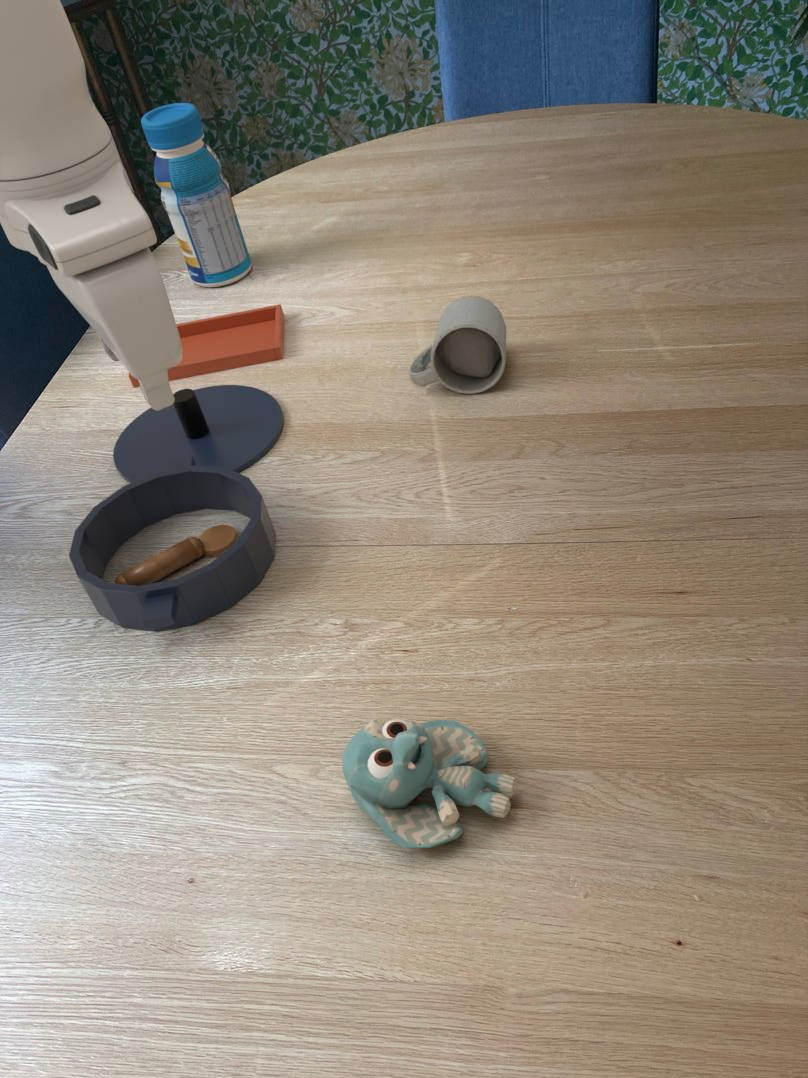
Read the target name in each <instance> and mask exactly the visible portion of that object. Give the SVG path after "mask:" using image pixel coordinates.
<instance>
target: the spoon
mask: <svg viewBox="0 0 808 1078" xmlns="http://www.w3.org/2000/svg"><path fill="white" fill-rule="evenodd" d="M238 538H239V536H238V533H237V531H236V529H235V528H234V527H233V526H230V525H228V524H219V525H218V524H217V525H215V526H211V527H209V528H207V529H205V530H204V531H203V532H202V533H201V534H200V535H199V536H198V537H197V536H190V537H187V538H185V539H183V540H181V541H180V542H178V543H176V544H174V545H172V546H170V547H168V548H167V549H164V550H163V551H160V552H159V553H157V554H155V555H154V556H152V557H150V558H148V559H146V560H144V561H142V562H140V563H139V564H136V565H135V566H133V567H130V568H129V569H127V570H125V571H124V572H122V573H119V574H118V575H117V576H116V577H115V579H114V583H116V584H126V585H136V586H141V585H147V584H152V583H157V582H159V580H162V579H163V578H165V577H167V576H168V575H171V574H172V573H174V572H176V571H178V570H180V569H181V568H183V567H185V566H187V565H188V564H191V563H192V562H194V561H196V560H198V559H199V558H201V557H202V556H206V557H211V558H217V557H219V556H220V555H221V554H222V553H224V552H225V551H226V550H227V549H229V548H230V547H231V546H232V545H234V544H235V543H236V542H237V540H238Z"/></svg>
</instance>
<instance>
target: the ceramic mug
mask: <svg viewBox="0 0 808 1078" xmlns="http://www.w3.org/2000/svg"><path fill="white" fill-rule="evenodd" d="M429 364H430V366H431V367H428V368H427V366H428V365H429ZM506 364H507V325H506V322H505V318H504V316H503V314H502V312H501V310H500V309H499V307H497V305H495V304H494V303H493V302H491V301H490V300H488V299H486V298H484V297H481V296H477V295H476V296H475V295H468V296H462V297H460V298H456V299H455V300H454V301H452V302H451V303H450V304H449V305H448V306H447V307H446V308H445V309H444V310H443V311H442V314H441V315H440V317H439V321H438V322H437V325H436V331H435V335H434V338H433V343H432V344H431V345H429V346H428V347H426V348H425V349H423V350H422V351H421V352H420V353H419V354H418V355H417V356H416V357H415V359H414V360H413V361H412V363H411V364H410V365H409V366H410V367H409V370H408V373H409V376H410V377H411V379H412V380H413V381H414V383H415V384H416V385H419V386H422V387H425V386H426V387H427V386H428V385H431V384H434V383H437V382H438V381H439V383H441V384H442V385H443V386H444V387H446V388H447V389H448V390H451V391H452V392H455V393H459V394H465V395H474V394H480V393H484V392H485V391H487V390H489V389H491V388H493V387H494V386H495V385H496V384H498V382H499V381H500V379H501V378H502V376H503V374H504V372H505V369H506V366H507V365H506ZM425 368H427V369H425Z"/></svg>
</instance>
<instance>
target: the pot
mask: <svg viewBox="0 0 808 1078" xmlns="http://www.w3.org/2000/svg"><path fill="white" fill-rule="evenodd" d="M201 510H218V511H230V512H231V511H232V512H236V513H237V514H240V515H242V516H243V517H244V516H245V517H246V518H249V521H248V523H247V524H246V526H245V527H244V529H243V531H242V532H241V533H240V535H239V536H238V540H237V542H236V543H235V544H234V545H232V546H231V547H230V548H229V549H227V550H226V551H225V552H224V553H222V554H221V555H220V556H217V557H215V559H214V560H212V561H211V562H210V563H207V564H205V565H204V566H202V567H199V568H197V569H194V570H193V571H191V572H188V573H186V574H183V575H182V576H179V577H177V578H174V579H168V580H163V581H156V582H154V583H152V584H147V585H141V586H136V585H126V584H116V583H113V582H109V581H106V580H104V579H103V577H104V573H105V572H104V571H105V568H106V566H108V564H109V563H110V561H111V560H112V559H113V557H114V556H115V555H116V554H117V552H118V551H119V549H120V548H121V547H122V546H123V545H124V544H125V543H127V542H128V541H129V540H131V539H133V538H134V537H135V536H136V535H138V534H139V533H141V532H142V531H143V530H144V529H145V528H147V527H150V526H152V525H155V524H157V523H159V522H162V521H164V520H166V519H169V518H171V517H174V516H176V515H181V514H186V513H191V512H195V511H196V512H197V511H201ZM276 539H277V532H276V530H275V528H274V525H273V522H272V519H271V516H270V514H269V511H268V509H267V506H266V503H265V501H264V497H263V495H262V494H261V492H260V490H258V488H257V487H256V486H255V484H254V482H253V481H252V480H251V478H250V477H249V476H246V475H244V474H241V473H240V472H239V473H237V472H234V471H232V470H230V469H227V468H225V467H213V466H196V463H195V461H194V458H193V456H188V457H183V458H177V459H172V460H168V463H167V469H166V471H161V472H156V473H154V474H152V475H149V476H147V477H144V478H142V479H140V480H137V481H135V482H133V483H130V482H129V483H128V484H125V485H123V486H121V487H120V488H119V489H117V490H116V491H114V492H112V494H110V495H109V496H107V497H106V498H105V499H103V500H101V501H100V502H99V503H97V504H96V505H95V506H94V507H93V508H92V509H91V510H90V512H89V513H88V514H87V515H86V516H85V518H84V519H83V520H82V521H81V522H80V524H79V525H78V526H77V528H75V530H74V534H73V538H72V542H71V546H70V549H69V553H68V557H69V559H70V562H71V564H72V567H73V569H74V571H75V574H76V576H77V578H78V580H79V582H80V584H81V585H82V587H83V588H84V590H85V592H86V594H87V595H88V597H89V599H90V600H91V603H92V604H93V606H94V607H95V609H96V611H97V613H98V614H99V615H100V616H102V617H104V618H106V619H107V620H108V621H110V622H111V623H113V624H116V625H117V626H118V627H121V628H123V629H130V630H136V631H145V632H146V631H147V632H162V631H170V630H174V629H175V630H176V629H180V628H185V627H189V626H193V625H197V624H199V623H202V622H203V621H206V620H209V619H211V618H213V617H216V616H217V615H219V614H221V613H223V612H226V611H227V610H229V609H230V608H232V607H234V606H235V605H236V604H238V603H240V602H241V601H242V600H243V599H244V598H246V597H247V596H248V595H249V594H250V593H251V592H252V591H254V589H256V588H257V587H258V586H259V585H260V584H261V583H262V581H263V579H264V578H265V576H266V574H267V572H268V571H269V569H270V567H271V566H272V564H273V562H274V561H275V559H276V542H277V540H276Z"/></svg>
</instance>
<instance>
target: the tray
mask: <svg viewBox="0 0 808 1078" xmlns="http://www.w3.org/2000/svg"><path fill="white" fill-rule="evenodd" d="M176 326H177V329H178V333H179V336H180V340H181V345H182V360H181V362H180V363H179V364H178V365H176V366H174V367H172V368H170V369H168V370H167V372H168V381H169V382H171V381H177V380H181V379H187V378H193V377H197V376H202V375H207V374H213V373H219V372H223V371H229V370H234V369H238V368H244V367H249V366H255V365H260V364H265V363H270V362H275V361H281V360H284V339H285V338H284V333H285V313H284V311H283V308H282V304H280V303H279V304H273V305H268V306H263V307H259V308H254V309H249V310H243V311H237V312H231V313H227V314H222V315H216V316H212V317H207V318H201V319H196V320H191V321H186V322H181V323H176ZM128 379H129V381H130V382H131V385H132V387H133V388H140V386H139V384H140V383H139V380H138V379H136V378H134V377H133V376H132V375H131V373H130V372H129V371H128Z"/></svg>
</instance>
